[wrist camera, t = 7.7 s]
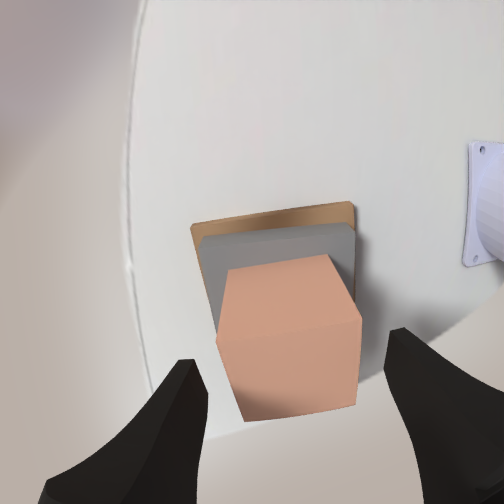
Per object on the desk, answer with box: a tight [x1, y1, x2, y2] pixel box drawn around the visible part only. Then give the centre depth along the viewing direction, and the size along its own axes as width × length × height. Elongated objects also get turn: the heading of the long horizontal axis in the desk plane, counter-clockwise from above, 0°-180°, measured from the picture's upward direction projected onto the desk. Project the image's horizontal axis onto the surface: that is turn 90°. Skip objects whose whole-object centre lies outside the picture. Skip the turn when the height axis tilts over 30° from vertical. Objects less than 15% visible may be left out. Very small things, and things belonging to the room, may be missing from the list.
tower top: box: [198, 222, 355, 333], centre depth 15 cm, size 7×7×2 cm
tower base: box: [190, 201, 355, 304], centre depth 16 cm, size 8×8×2 cm
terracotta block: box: [216, 254, 362, 422], centre depth 12 cm, size 4×4×5 cm
